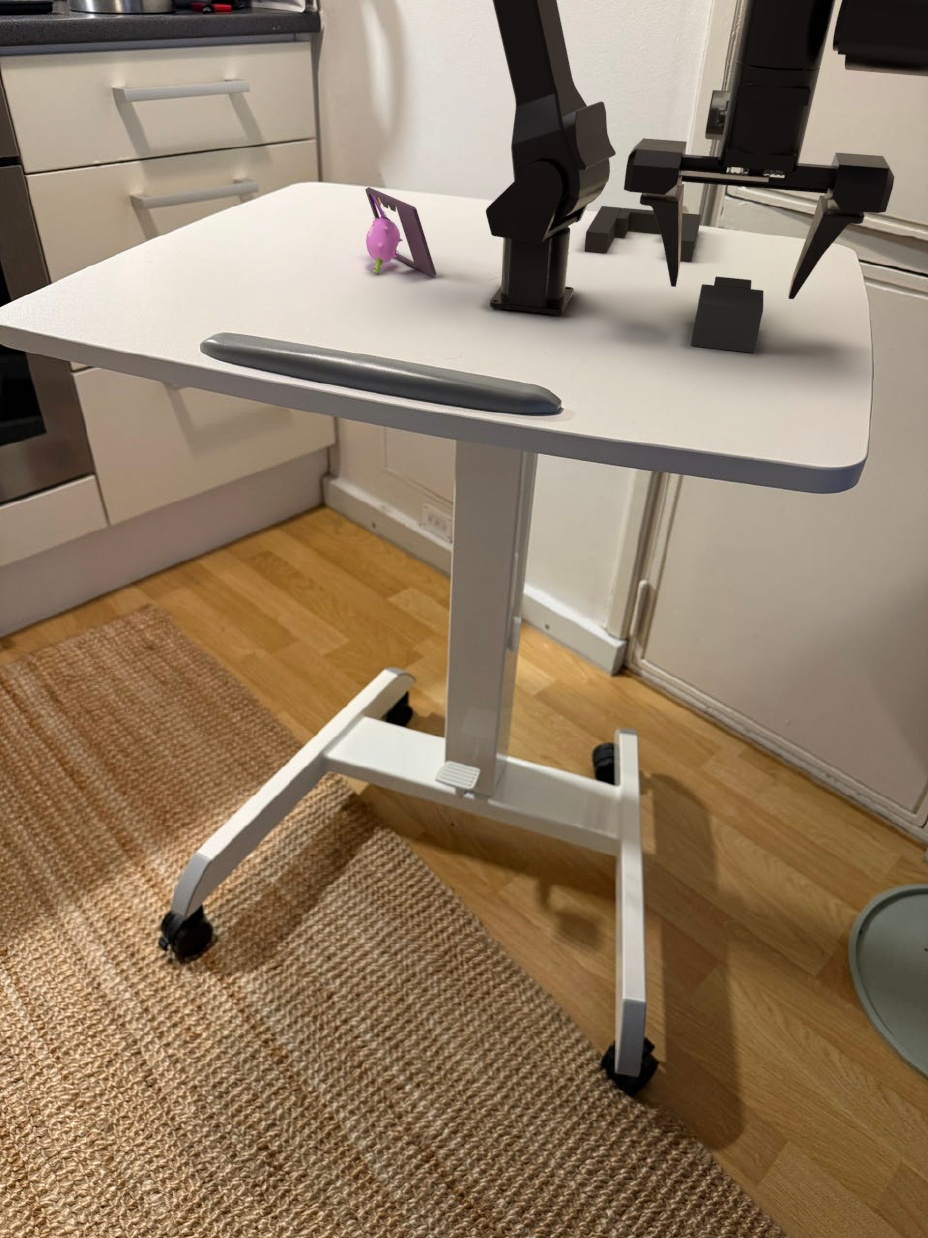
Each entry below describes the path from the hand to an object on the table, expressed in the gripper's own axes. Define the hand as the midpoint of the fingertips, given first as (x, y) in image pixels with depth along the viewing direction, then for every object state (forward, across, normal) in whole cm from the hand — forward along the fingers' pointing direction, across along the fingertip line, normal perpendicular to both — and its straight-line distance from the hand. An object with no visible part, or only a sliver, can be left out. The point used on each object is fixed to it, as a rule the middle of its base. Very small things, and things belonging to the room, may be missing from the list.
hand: (731, 291), depth 72 cm
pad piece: (+4, 0, -1) cm, 4 cm away
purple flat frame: (+4, +32, -9) cm, 33 cm away
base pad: (+4, +9, -26) cm, 28 cm away
